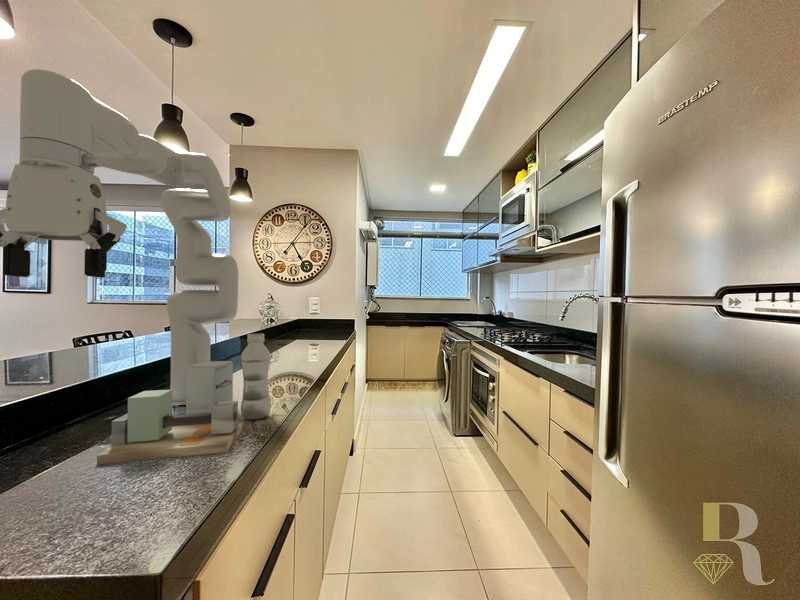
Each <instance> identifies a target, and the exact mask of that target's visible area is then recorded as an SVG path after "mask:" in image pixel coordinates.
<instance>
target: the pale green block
mask: <svg viewBox="0 0 800 600" xmlns="http://www.w3.org/2000/svg"><path fill="white" fill-rule="evenodd" d="M172 400H173V389H172V390H171V389H157V390H155V389H154V390H143V391H141V392H138V393H137V394H134V395H132V396H129V397H127V413H128V434H127V442H138V441H150V440H159V439H160V438H162V437H163V436H164V435H166V434H167V433H168V432H170V431H171V430H172V426H171V427H163V417H165V416H173V406H172Z"/></svg>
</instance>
